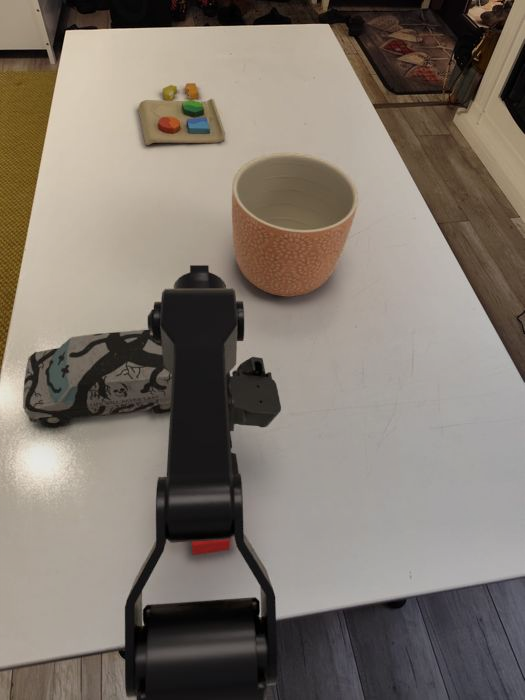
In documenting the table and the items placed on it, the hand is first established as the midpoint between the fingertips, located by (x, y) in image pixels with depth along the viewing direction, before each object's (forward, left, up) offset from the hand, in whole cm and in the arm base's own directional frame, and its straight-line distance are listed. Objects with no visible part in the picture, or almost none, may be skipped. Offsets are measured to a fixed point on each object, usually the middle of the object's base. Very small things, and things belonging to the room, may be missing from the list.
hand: (203, 448), depth 65 cm
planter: (+44, -8, -11) cm, 46 cm away
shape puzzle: (+93, +22, -11) cm, 96 cm away
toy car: (+13, +16, -11) cm, 23 cm away
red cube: (-7, -2, -11) cm, 13 cm away
